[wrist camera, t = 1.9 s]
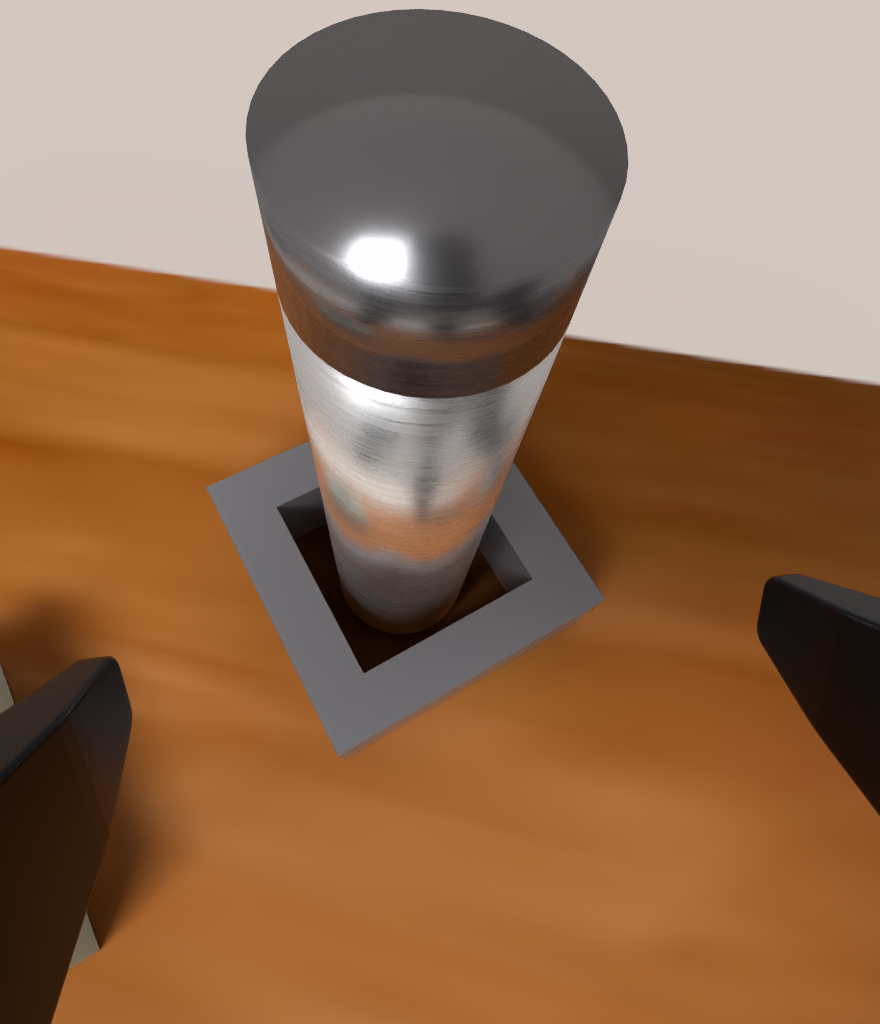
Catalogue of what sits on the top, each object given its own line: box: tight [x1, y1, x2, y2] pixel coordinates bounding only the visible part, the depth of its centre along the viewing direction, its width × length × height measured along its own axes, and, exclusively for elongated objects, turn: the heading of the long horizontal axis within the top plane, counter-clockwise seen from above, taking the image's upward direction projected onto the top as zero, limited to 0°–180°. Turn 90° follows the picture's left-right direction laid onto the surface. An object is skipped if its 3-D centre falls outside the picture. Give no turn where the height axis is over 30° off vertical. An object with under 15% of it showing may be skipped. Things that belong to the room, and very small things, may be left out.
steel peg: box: [246, 9, 628, 634], centre depth 14 cm, size 4×4×16 cm
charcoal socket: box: [206, 441, 605, 759], centre depth 20 cm, size 8×8×3 cm
